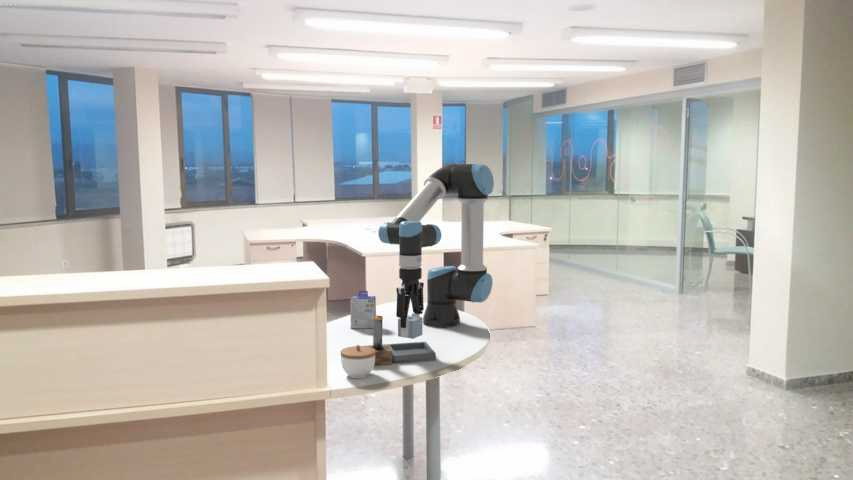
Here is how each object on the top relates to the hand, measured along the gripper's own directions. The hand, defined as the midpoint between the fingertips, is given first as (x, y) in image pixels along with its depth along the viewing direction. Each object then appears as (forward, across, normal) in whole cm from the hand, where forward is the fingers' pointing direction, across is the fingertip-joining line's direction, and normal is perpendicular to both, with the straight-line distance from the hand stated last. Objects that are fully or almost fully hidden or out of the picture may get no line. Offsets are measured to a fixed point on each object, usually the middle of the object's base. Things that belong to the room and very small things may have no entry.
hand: (410, 334), depth 220 cm
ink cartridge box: (+7, +23, +37) cm, 44 cm away
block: (0, 0, 0) cm, 0 cm away
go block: (+7, -11, +6) cm, 15 cm away
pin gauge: (+6, -11, +6) cm, 14 cm away
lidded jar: (+8, -25, +3) cm, 27 cm away
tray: (+7, 0, 0) cm, 7 cm away
